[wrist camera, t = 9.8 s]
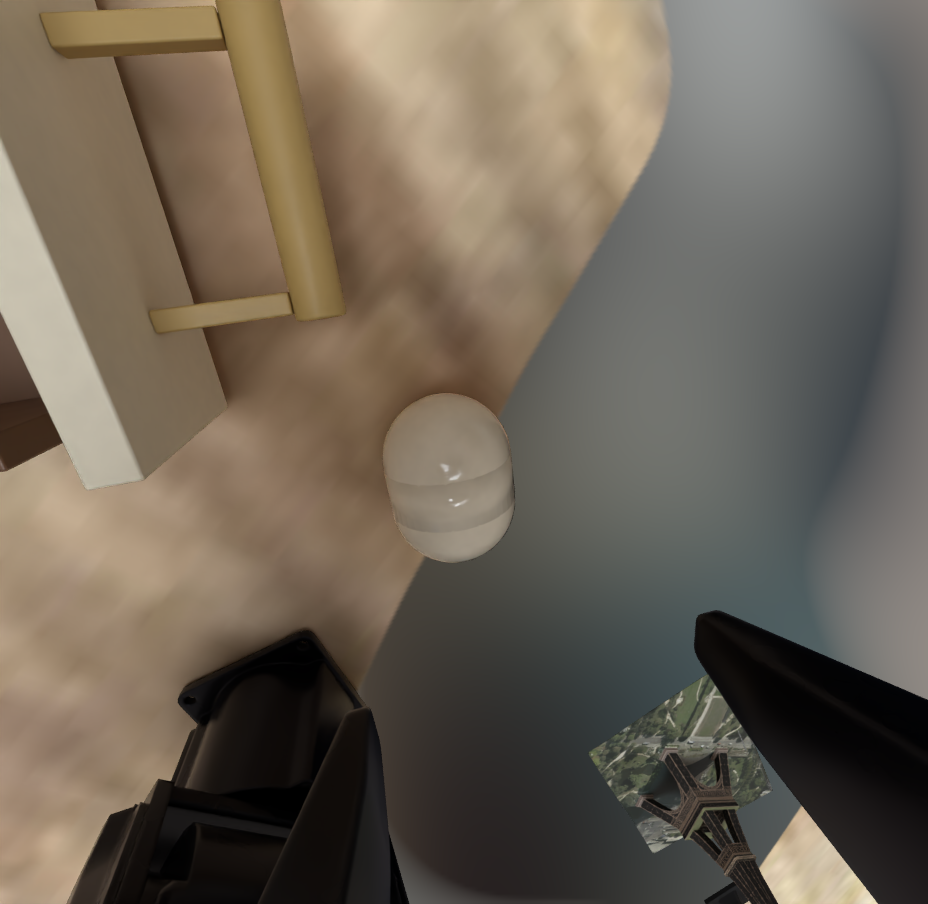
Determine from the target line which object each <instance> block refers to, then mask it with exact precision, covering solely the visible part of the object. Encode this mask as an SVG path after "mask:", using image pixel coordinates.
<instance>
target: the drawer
mask: <svg viewBox="0 0 928 904" xmlns="http://www.w3.org/2000/svg"><path fill="white" fill-rule="evenodd" d="M215 2H216V6H217V10H218V12H217V10H216V9H215V7H214V6H194V7H169V8H143V9H118V10H98V9H97V6H96V3H95V0H0V472H4V471H8V470H10V469H12V468H14V467H16V466H18V465H20V464H22V463H24V462H26V461H28V460H30V459H32V458H34V457H36V456H38V455H40V454H42V453H44V452H46V451H47V450H49V449H51V448H53V447H55V446H57V445H59V444H61V443H63V444H64V446H65V448H66V450H67V452H68V454H69V456H70V458H71V461H72V463H73V465H74V467H75V469H76V471H77V473H78V475H79V477H80V479H81V481H82V483H83V486H84V488H85V489H86V490H95V489H100V488H105V487H111V486H116V485H121V484H127V483H132V482H137V481H143V480H144V479H145V478H147V477H148V476H149V475H150V474H151V473H152V472H154V471H155V470H156V469H157V468H158V467H159V466H161V465H162V464H163V463H164V462H165V461H166V460H168V459H169V458H170V457H171V456H172V455H173V454H175V453H176V452H177V451H178V450H179V449H180V448H182V447H183V446H184V445H185V444H186V443H187V442H188V441H190V440H191V439H192V438H193V437H194V436H195V435H197V434H198V433H199V432H200V431H201V430H202V429H204V428H205V427H206V426H207V425H208V424H209V423H211V422H212V421H213V420H214V419H215V418H216V417H218V416H219V415H220V414H221V413H222V412H223V411H225V410H226V409H227V408H228V405H227V402H226V399H225V396H224V393H223V390H222V387H221V384H220V381H219V378H218V375H217V372H216V369H215V366H214V363H213V360H212V357H211V353H210V350H209V347H208V344H207V341H206V338H205V335H204V332H203V329H202V328H205V327H212V326H219V325H226V324H233V323H240V322H247V321H254V320H261V319H268V318H275V317H282V316H289V315H293V314H295V318H296V320H297V321H300V322H303V321H312V320H320V319H326V318H332V317H338V316H343V315H345V314H346V307H345V302H344V297H343V293H342V288H341V283H340V278H339V274H338V269H337V264H336V260H335V255H334V250H333V246H332V241H331V236H330V231H329V227H328V222H327V217H326V213H325V208H324V203H323V199H322V194H321V189H320V185H319V180H318V175H317V170H316V166H315V161H314V156H313V152H312V147H311V142H310V138H309V133H308V128H307V124H306V119H305V114H304V109H303V105H302V100H301V95H300V91H299V86H298V81H297V77H296V72H295V67H294V63H293V58H292V53H291V48H290V44H289V39H288V34H287V30H286V25H285V20H284V16H283V11H282V6H281V3H280V0H216V1H215ZM225 50H228V54H229V58H230V62H231V66H232V70H233V74H234V77H235V81H236V85H237V89H238V93H239V97H240V101H241V105H242V109H243V113H244V117H245V121H246V125H247V129H248V133H249V137H250V141H251V145H252V148H253V152H254V156H255V160H256V164H257V168H258V172H259V176H260V180H261V184H262V188H263V192H264V196H265V200H266V204H267V208H268V212H269V216H270V219H271V223H272V227H273V231H274V235H275V239H276V243H277V247H278V251H279V255H280V259H281V263H282V267H283V271H284V275H285V279H286V283H287V287H288V290H289V292H282V293H275V294H268V295H260V296H253V297H245V298H238V299H230V300H223V301H215V302H208V303H201V304H194V302H193V299H192V296H191V293H190V289H189V286H188V283H187V280H186V277H185V274H184V271H183V268H182V265H181V262H180V259H179V256H178V253H177V250H176V247H175V244H174V241H173V238H172V235H171V232H170V229H169V225H168V222H167V219H166V216H165V213H164V210H163V207H162V204H161V201H160V198H159V195H158V192H157V189H156V186H155V183H154V180H153V177H152V174H151V171H150V168H149V165H148V161H147V158H146V155H145V152H144V149H143V146H142V143H141V140H140V137H139V134H138V131H137V128H136V125H135V122H134V119H133V116H132V113H131V110H130V107H129V104H128V101H127V97H126V94H125V91H124V88H123V85H122V82H121V79H120V76H119V73H118V70H117V67H116V64H115V61H114V58H113V57H114V56H132V55H151V54H169V53H188V52H206V51H225Z"/></svg>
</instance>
